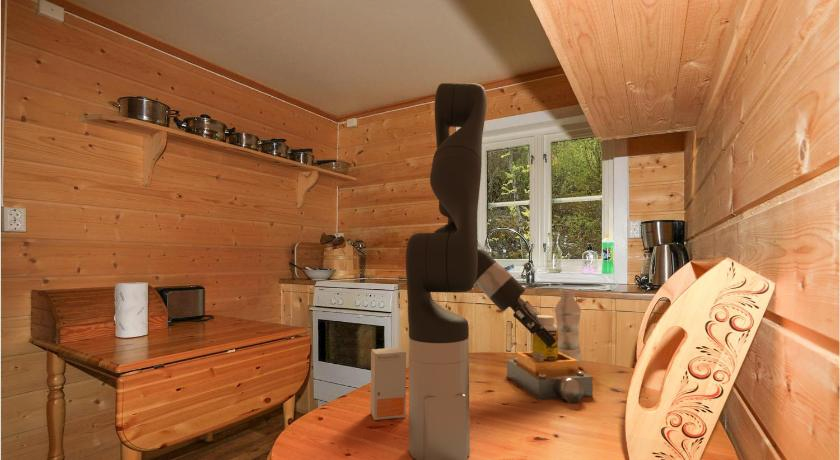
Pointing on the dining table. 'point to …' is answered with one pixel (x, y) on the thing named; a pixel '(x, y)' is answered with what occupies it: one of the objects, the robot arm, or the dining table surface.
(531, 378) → the gearbox housing
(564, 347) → the plastic bottle
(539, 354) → the supplement bottle
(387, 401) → the skincare box
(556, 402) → the dining table surface
